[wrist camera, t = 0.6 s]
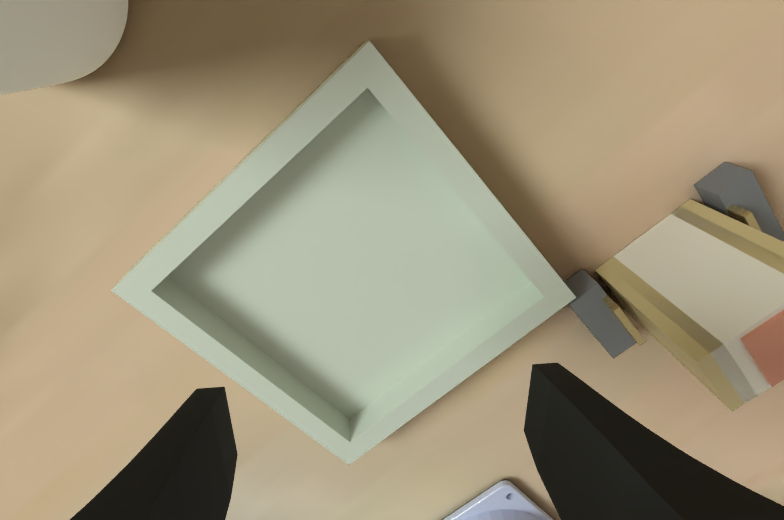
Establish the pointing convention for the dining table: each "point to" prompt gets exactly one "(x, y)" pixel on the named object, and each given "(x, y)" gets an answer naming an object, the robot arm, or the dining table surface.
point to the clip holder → (719, 192)
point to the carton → (708, 298)
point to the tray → (348, 265)
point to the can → (56, 40)
